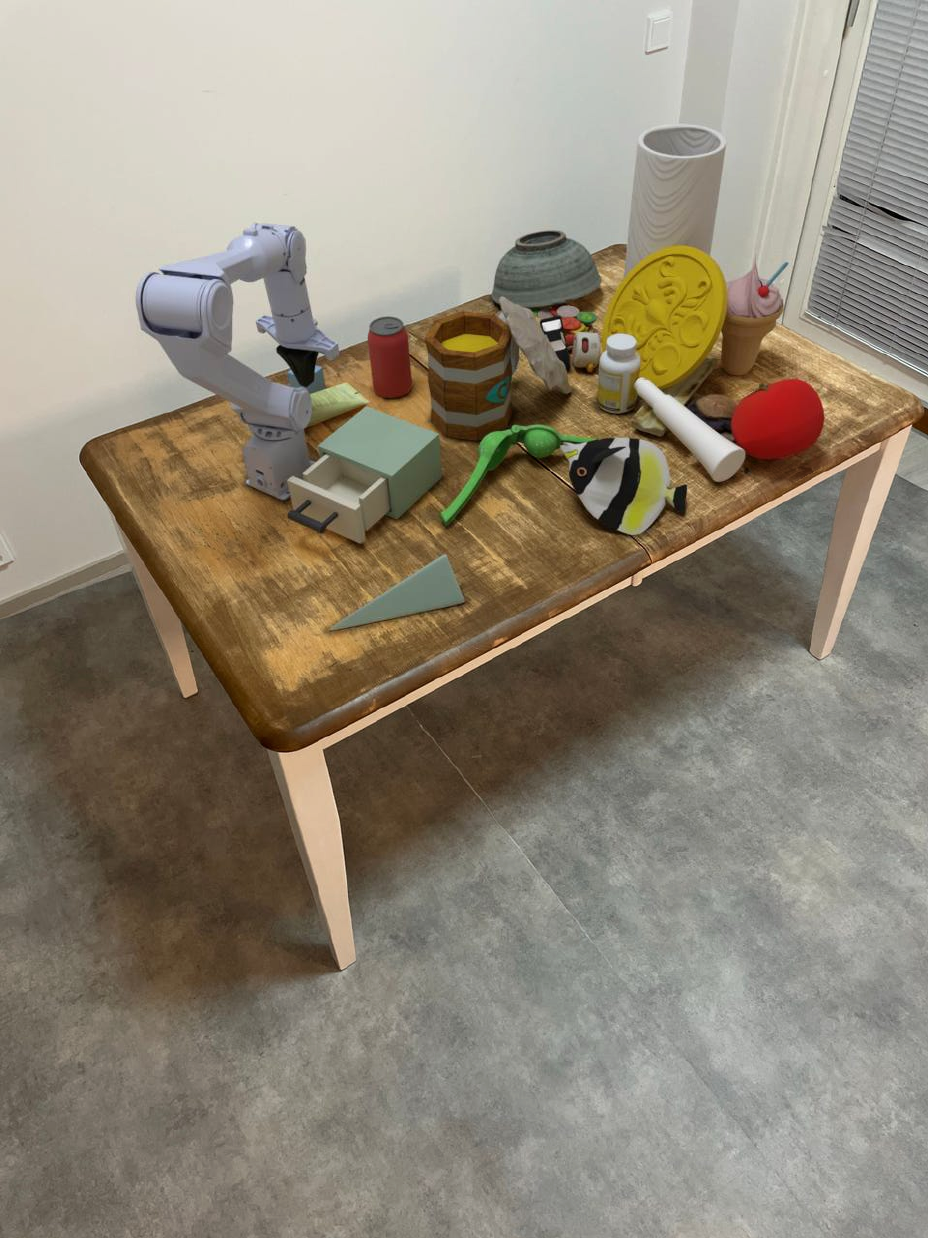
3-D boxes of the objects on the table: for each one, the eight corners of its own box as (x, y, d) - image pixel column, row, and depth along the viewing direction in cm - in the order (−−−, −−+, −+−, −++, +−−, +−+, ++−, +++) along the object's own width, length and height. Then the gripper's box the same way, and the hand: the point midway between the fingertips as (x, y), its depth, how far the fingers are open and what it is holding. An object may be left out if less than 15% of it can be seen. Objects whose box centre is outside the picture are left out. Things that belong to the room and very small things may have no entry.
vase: (657, 292, 183) (678, 115, 160) (716, 321, 175) (747, 139, 152) (603, 319, 177) (617, 139, 154) (662, 350, 169) (685, 166, 146)
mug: (480, 451, 152) (477, 367, 141) (413, 422, 157) (406, 340, 147) (550, 392, 162) (553, 309, 151) (485, 367, 168) (483, 286, 157)
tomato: (848, 441, 140) (826, 364, 137) (758, 476, 140) (734, 401, 138) (814, 436, 152) (793, 365, 149) (731, 468, 152) (709, 399, 150)
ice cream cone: (767, 352, 168) (791, 240, 153) (770, 388, 161) (796, 274, 146) (703, 349, 169) (721, 238, 155) (703, 384, 162) (722, 271, 147)
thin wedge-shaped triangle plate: (353, 665, 122) (471, 593, 125) (327, 623, 123) (445, 552, 126) (354, 673, 130) (465, 605, 133) (329, 633, 131) (440, 566, 134)
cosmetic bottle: (744, 441, 140) (650, 359, 151) (710, 467, 140) (620, 383, 152) (748, 464, 145) (657, 382, 156) (716, 489, 145) (627, 405, 157)
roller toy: (595, 355, 170) (600, 325, 166) (600, 375, 165) (605, 344, 161) (570, 355, 170) (574, 324, 165) (574, 374, 165) (578, 344, 161)
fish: (576, 400, 134) (559, 498, 130) (709, 434, 136) (697, 532, 132) (554, 438, 146) (538, 529, 142) (677, 468, 148) (664, 559, 144)
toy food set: (505, 340, 174) (504, 323, 171) (544, 308, 181) (544, 291, 178) (568, 362, 168) (569, 345, 166) (607, 328, 175) (608, 311, 173)
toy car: (572, 371, 166) (571, 364, 164) (549, 376, 167) (548, 369, 164) (562, 320, 169) (561, 311, 166) (539, 324, 169) (538, 317, 167)
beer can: (411, 399, 162) (405, 335, 154) (372, 400, 163) (364, 336, 154) (413, 377, 167) (407, 313, 158) (375, 378, 167) (367, 314, 158)
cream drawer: (341, 561, 135) (335, 527, 130) (275, 530, 140) (267, 496, 135) (404, 502, 143) (401, 468, 138) (339, 475, 148) (333, 441, 143)
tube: (260, 453, 156) (361, 412, 164) (267, 443, 151) (371, 401, 160) (243, 421, 155) (346, 382, 164) (250, 410, 151) (355, 370, 159)
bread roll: (673, 421, 155) (675, 401, 153) (700, 396, 160) (703, 377, 157) (732, 445, 150) (736, 425, 148) (759, 419, 155) (763, 399, 152)
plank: (685, 361, 167) (687, 347, 165) (717, 370, 165) (720, 356, 163) (628, 432, 154) (629, 419, 152) (662, 443, 152) (664, 429, 150)
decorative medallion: (647, 420, 158) (640, 417, 157) (585, 332, 170) (577, 328, 169) (754, 305, 146) (747, 301, 144) (678, 219, 158) (671, 214, 157)
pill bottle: (636, 393, 161) (643, 330, 153) (636, 416, 157) (642, 353, 148) (597, 391, 162) (601, 329, 153) (595, 414, 158) (600, 351, 149)
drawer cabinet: (396, 519, 141) (391, 476, 136) (325, 488, 147) (317, 445, 141) (442, 477, 148) (439, 433, 142) (371, 448, 153) (366, 405, 147)
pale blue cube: (310, 400, 163) (306, 379, 160) (291, 393, 165) (287, 372, 162) (326, 388, 165) (322, 367, 162) (307, 381, 167) (303, 360, 164)
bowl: (512, 220, 189) (519, 271, 195) (464, 258, 175) (474, 312, 181) (613, 215, 180) (617, 269, 186) (571, 255, 166) (577, 312, 172)
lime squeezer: (446, 528, 140) (443, 494, 135) (413, 482, 147) (410, 448, 142) (645, 461, 148) (649, 427, 144) (605, 421, 156) (608, 387, 151)
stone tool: (590, 414, 159) (519, 330, 139) (568, 424, 160) (495, 343, 140) (576, 358, 164) (506, 269, 144) (555, 368, 166) (483, 282, 145)
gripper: (346, 305, 139) (359, 383, 149) (271, 278, 145) (288, 355, 155) (314, 330, 135) (330, 408, 146) (238, 301, 141) (259, 378, 152)
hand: (307, 382), depth 150 cm, fingers closed
